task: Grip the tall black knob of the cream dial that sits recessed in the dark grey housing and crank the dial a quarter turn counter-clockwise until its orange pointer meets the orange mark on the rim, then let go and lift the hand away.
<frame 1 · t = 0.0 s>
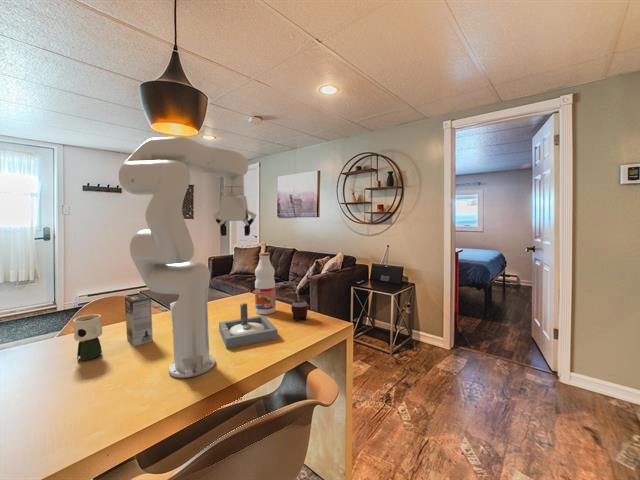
hand: (235, 235, 117), 37 cm above the table, tool pointing down, fingers open, 9 cm apart
mate gourd: (298, 319, 128), on the table
housing: (247, 334, 111), on the table
dial: (246, 319, 111), point 6 cm above the table, hinge at 0.0°
white cup: (181, 327, 120), on the table
fruit juice: (265, 312, 139), on the table
coffee box: (140, 341, 107), on the table
character mug: (90, 358, 94), on the table
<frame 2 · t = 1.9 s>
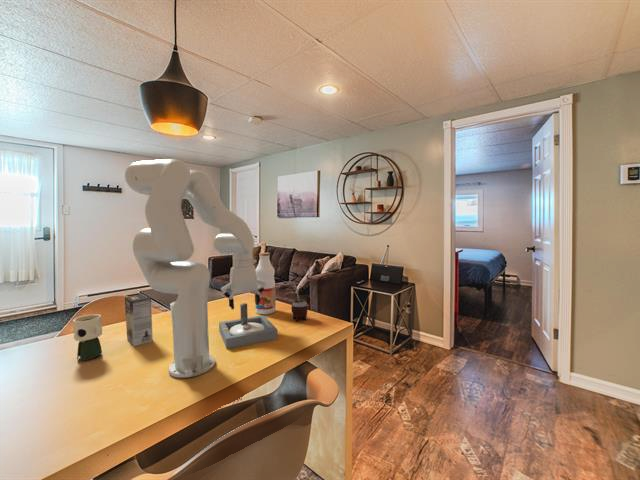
hand: (244, 306, 116), 9 cm above the table, tool pointing down, fingers open, 9 cm apart
nothing on the table moved.
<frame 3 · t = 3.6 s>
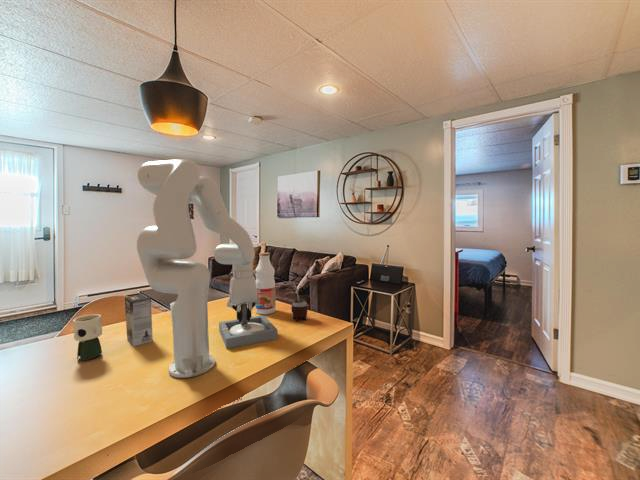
hand: (244, 320, 115), 4 cm above the table, tool pointing down, fingers closed on dial, 2 cm apart
dial: (246, 319, 111), point 6 cm above the table, hinge at 0.0°, touching gripper
everything else where it was.
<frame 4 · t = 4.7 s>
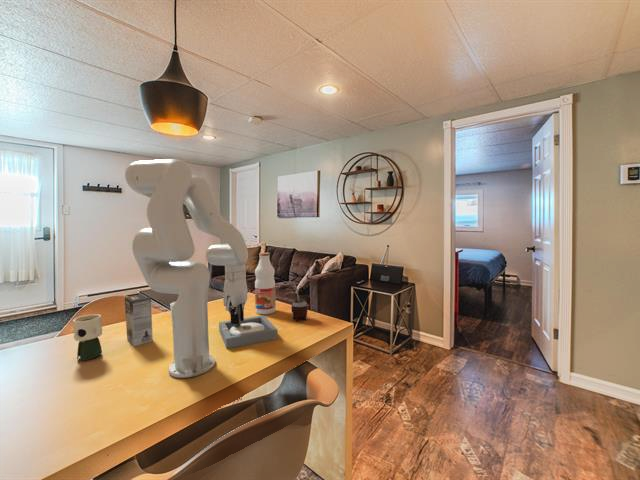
hand: (237, 321, 113), 4 cm above the table, tool pointing down, fingers closed on dial, 2 cm apart
dial: (246, 319, 111), point 6 cm above the table, hinge at 36.3°, touching gripper
everything else where it was.
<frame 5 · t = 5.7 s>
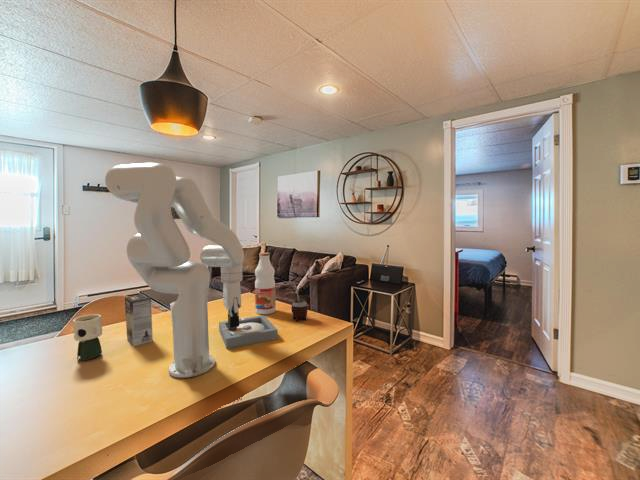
hand: (233, 324, 109), 4 cm above the table, tool pointing down, fingers closed on dial, 2 cm apart
dial: (246, 319, 111), point 6 cm above the table, hinge at 82.2°, touching gripper
everything else where it was.
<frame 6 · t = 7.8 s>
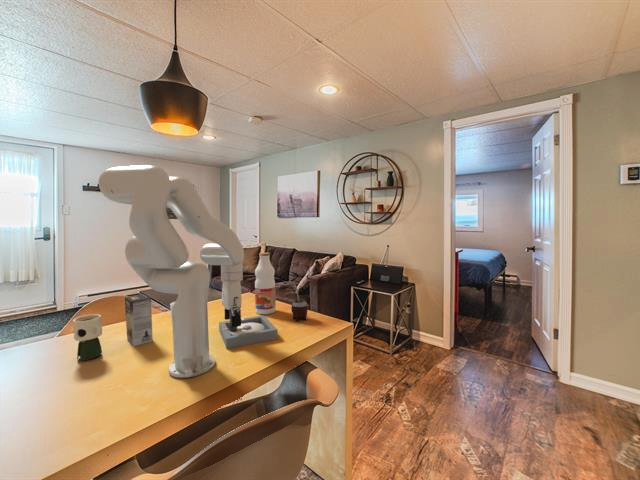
hand: (232, 322, 107), 6 cm above the table, tool pointing down, fingers open, 9 cm apart
dial: (246, 319, 111), point 6 cm above the table, hinge at 90.3°
everything else where it was.
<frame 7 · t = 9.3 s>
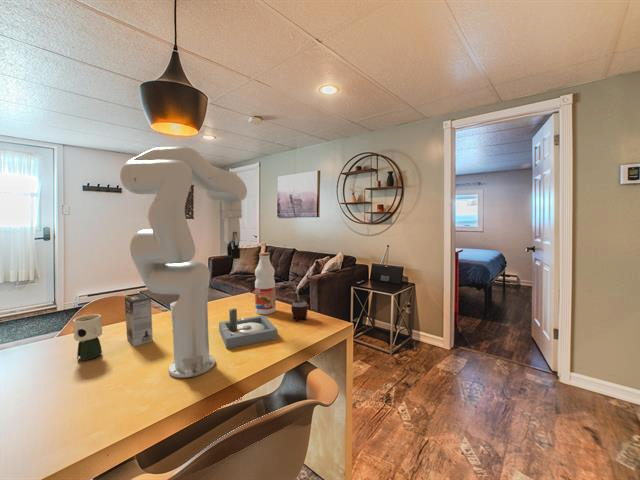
hand: (233, 257, 119), 28 cm above the table, tool pointing down, fingers open, 9 cm apart
nothing on the table moved.
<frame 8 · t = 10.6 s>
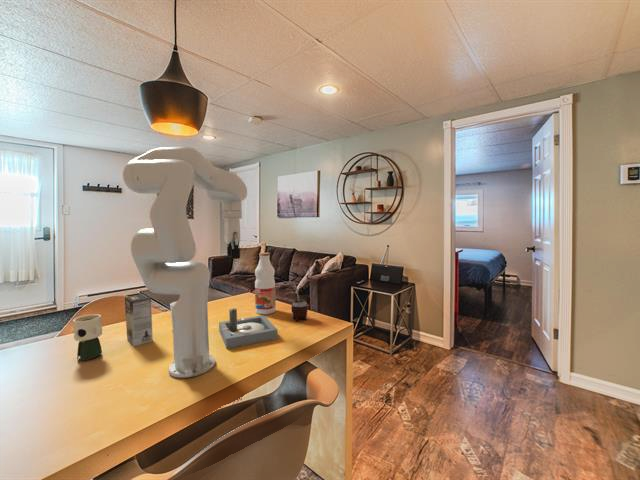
hand: (233, 257, 120), 28 cm above the table, tool pointing down, fingers open, 9 cm apart
nothing on the table moved.
at the end: dial at +90° (first picture: +0°); the gripper is holding nothing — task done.
